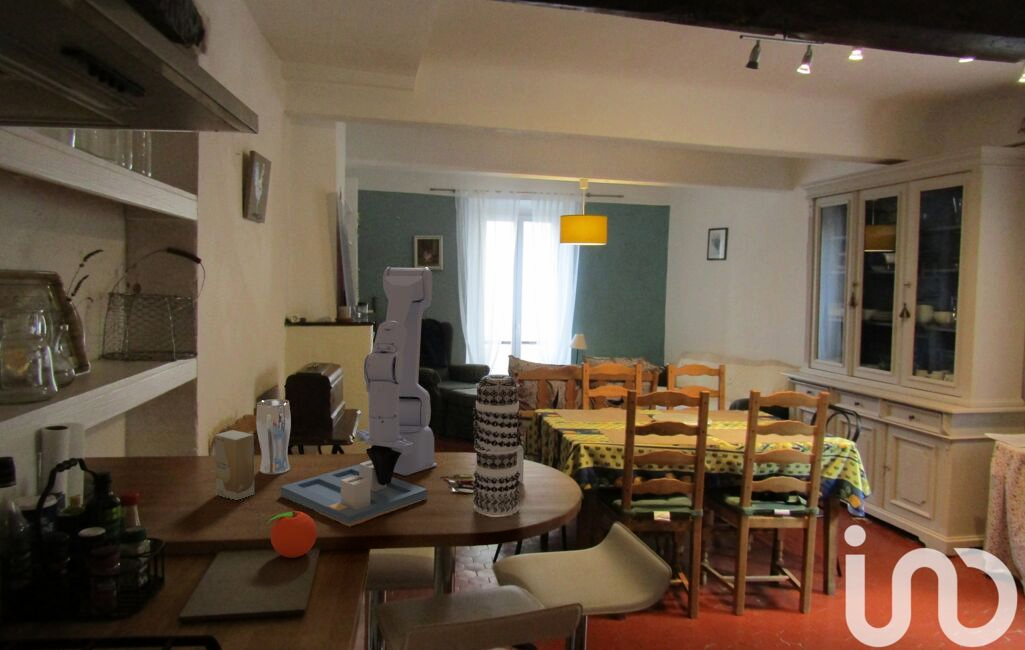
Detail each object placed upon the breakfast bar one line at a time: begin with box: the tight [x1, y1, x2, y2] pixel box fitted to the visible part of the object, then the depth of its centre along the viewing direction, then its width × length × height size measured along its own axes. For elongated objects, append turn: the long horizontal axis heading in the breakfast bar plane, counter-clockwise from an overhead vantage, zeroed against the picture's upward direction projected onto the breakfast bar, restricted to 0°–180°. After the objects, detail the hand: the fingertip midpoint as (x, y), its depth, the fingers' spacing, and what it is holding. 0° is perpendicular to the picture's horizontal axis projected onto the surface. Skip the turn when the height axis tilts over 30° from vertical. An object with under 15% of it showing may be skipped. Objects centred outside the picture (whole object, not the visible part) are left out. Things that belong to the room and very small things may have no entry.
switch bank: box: [280, 464, 428, 524], centre depth 131 cm, size 18×22×2 cm
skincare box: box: [214, 429, 255, 501], centre depth 131 cm, size 6×4×12 cm
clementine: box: [263, 511, 318, 559], centre depth 106 cm, size 8×7×7 cm
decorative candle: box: [471, 374, 523, 515], centre depth 125 cm, size 9×9×25 cm
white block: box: [358, 459, 387, 491], centre depth 133 cm, size 4×4×5 cm
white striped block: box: [341, 475, 371, 510], centre depth 124 cm, size 4×4×5 cm
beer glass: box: [255, 398, 292, 476], centre depth 146 cm, size 7×7×15 cm
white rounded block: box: [517, 444, 525, 485], centre depth 139 cm, size 4×6×12 cm
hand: (384, 483), depth 131 cm, fingers closed
